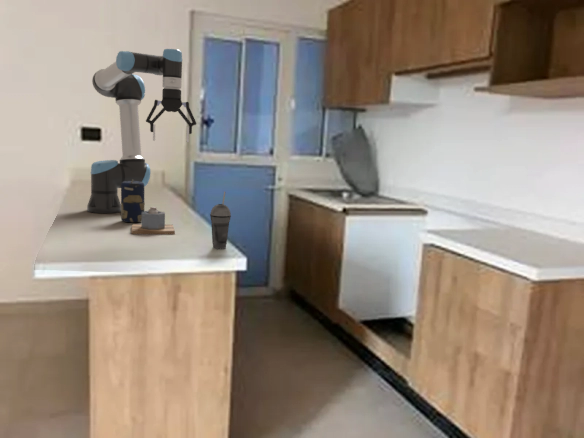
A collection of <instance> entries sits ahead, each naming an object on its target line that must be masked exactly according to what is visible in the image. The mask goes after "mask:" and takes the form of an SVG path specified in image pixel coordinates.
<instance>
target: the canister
mask: <svg viewBox="0 0 584 438" xmlns="http://www.w3.org/2000/svg"><path fill="white" fill-rule="evenodd" d="M120 190H121V191H120V194H121V195H120V196H121V197H120V203H121V212H120V219H121V221H122V222H127V223H139V222H140V223H142V212H143V211H145V206H146V205H145V204H146V203H145V187H144V183H143V182H140V181H134V180H133V179H132V181H124V182H122V183H121V188H120Z"/></svg>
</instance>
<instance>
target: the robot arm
mask: <svg viewBox="0 0 584 438" xmlns="http://www.w3.org/2000/svg"><path fill="white" fill-rule="evenodd" d="M134 73H142V74H152V75H155V76H162V88H163V89H162V94H161V95H162V97H161V98H162V99H161V100H158V99H155V100H154V103H153V105H152V108H151V110H150V112H149V114H148V115H147V117H146V119H145V122H146V123H148V124H149V125H150V129H149V131H150V133H152V141H154V142H155V141H156V124H155V122H156V121H157V120H159V118H160V117H161V116H162V115H163V114H164V113H165V111H166V112H168V113H169V112H170V113H171V112H172V113H178V114H179V115H180V116H181V118H182V119H183V120H184V121H185V122H186V124H187V125H188V126H186V143H189V142H190V135H192V133H193V130H192V129H193V126H196V125H197V121H196V119H195V117H194V115H193V113H192V111H191V108H190V103H189V102H188V101H185V102H182V90H181V89H182V74H183V54H182V51H181V50H180V49H175V48H165V49H163V51H162V55H155V54H148V53H140V52H133V51H130V50H126V51H123V50H120V51H118V53H117V55H116V57H115V61H114V62H113V63H112V64H110V65H109V66H107V67H105V68H100V69H99V70H97V71H96V72H95V73H94V74H93V76H92V79H91V82H92V86H93V89H94V90H95V91H96V92H97V93H98V94H99V95H100V96H104V97H107V98H112V99H113V98H114V99H115V103H116V105H118V106H119V109H118V110H119V120H120V121H119V122H120V137H121V149H122V150H121V151H122V156H121V158H120V159H119V162H118V160H116V159H109V160H108V159H107V160H99V161H98V160H97V161H95V162H94V161H93V162H92V164H91V166H90V192H91V193H90V197H89V200H88V203H87V206H86V208H87V209H86V210H87V212H89V213H94V214H114V213H115V214H116V213H121V199H120V198H119V194H118V192H119V190H118V189H121V183H122V182H124V181H132V179H133V180H134V181H140V182H143V183H144V188H145V187H146V186H148V184H149V181H150V178H151V167H150V164H149V163H147V162H146V160H145V158H144V157H143V156H142V148H141V147H142V146H141V145H142V144H141V131H140V130H141V129H140V115H139V105H140V104H141V103H142V100H144V98H145V95H146V94H145V93H146V86H145V83H144V80H143V78H141V76H140V75H137V74H134ZM159 105H161V106H162V107H163V108H161V110H160V111H159V112H157V114H156V115H155V116H154V117H153V119H152V120H151V118H152V116H153V115H154V113H155V111H156V109H157V107H158V106H159ZM182 106H183V107H184V108H185V109H186V111H187V113H188V116H189V118H190V120H191V121H190V120H189V118H188V117H187V115H185V114H184V112H183V111H182V110H181V107H182Z"/></svg>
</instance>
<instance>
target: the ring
mask: <svg viewBox="0 0 584 438" xmlns="http://www.w3.org/2000/svg"><path fill="white" fill-rule="evenodd" d="M141 224H142V226H141V228H142V229H147V230H160V229H165V224H166V212H165V211H159V210H158V214H149V210H146V211H145V210H144V211H143V212H142V221H141Z"/></svg>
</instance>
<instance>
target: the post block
mask: <svg viewBox="0 0 584 438" xmlns="http://www.w3.org/2000/svg"><path fill="white" fill-rule="evenodd" d="M149 208H150V209H148V211H149V214H158V211H159V210H158V208H157V207H156V206H150V207H149ZM141 226H142V223H137V224H135V223H133V224H131V235H176V231H175V227H174V224H168V223H165V229H160V230H147V229H142V228H141Z"/></svg>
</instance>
